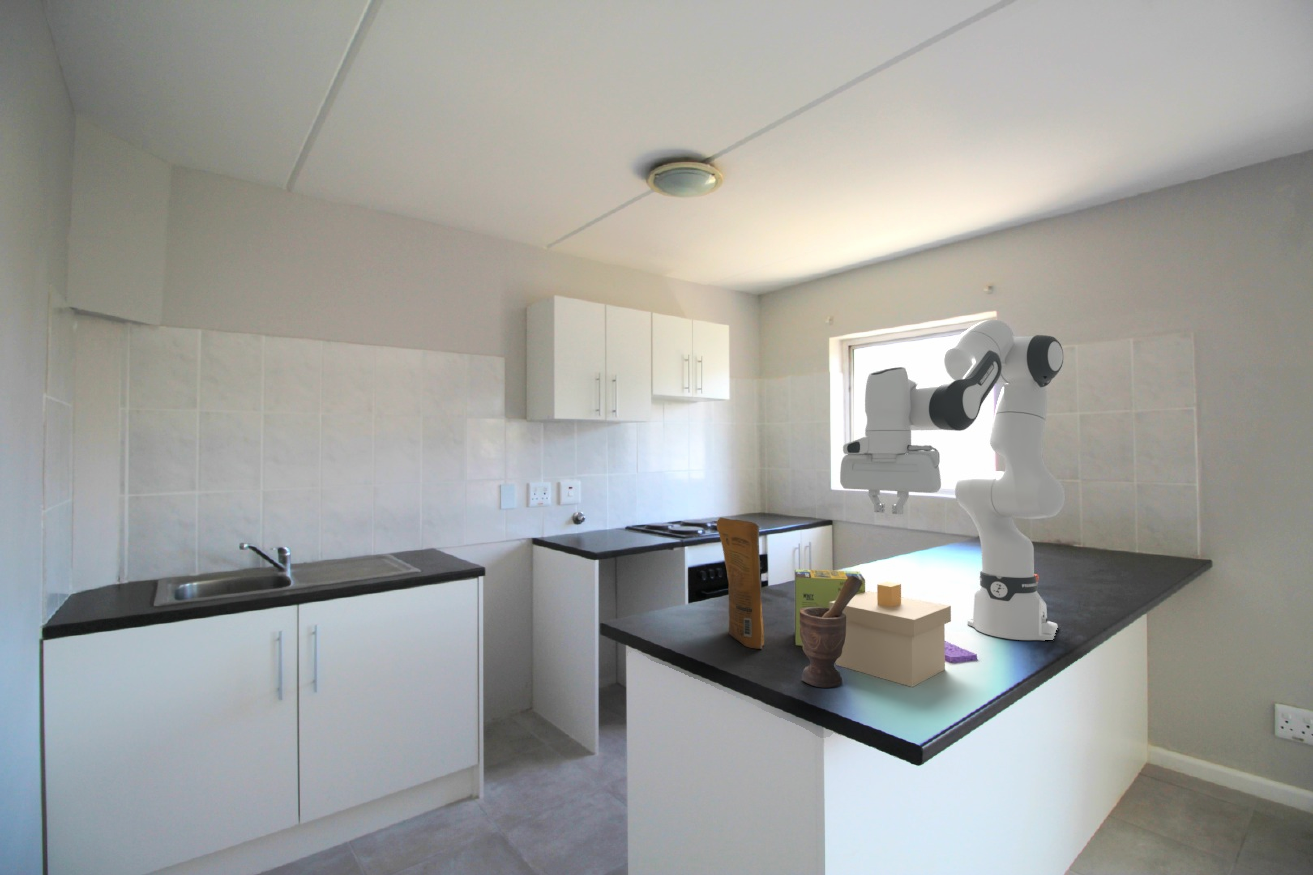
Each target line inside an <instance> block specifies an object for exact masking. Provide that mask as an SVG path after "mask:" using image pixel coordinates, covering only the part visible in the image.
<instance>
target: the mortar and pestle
mask: <svg viewBox="0 0 1313 875" xmlns="http://www.w3.org/2000/svg"><path fill="white" fill-rule="evenodd" d="M861 585H862V581H861V580H860V579H859V578H857V577H855V576H853V575H851V576H850V577H848V578H847V580H846V581H845V583H844V585H843V586H842V588H841V591H840V593H839V595H838V597H837V599H836V600H835V602H834V604H833V606H832V607H831V608H827V607H806V608H801V609H800V637H801V641H802V644H803V646H801V647H802V650H803V653H804V655H806V657H807V658H808V660H809V663H810V664H809V665H808V666H805V668H804V669H803V671H802V673H801V681H803V682H804V683H806V684H808V685H811V686H814V687H817V688H834V687H835V688H836V687H838V686H840V685H841V684H843V678H842V676H841V673H840V671H839V670H837V668H836V667H835V663H836V660H837V659H838V658H839V657H840V656H841V654H842V648H843V645H844V643H845V637H846V614H845V613H844V612H842V611H843V610H844V608H845V607H846V606H847V604H848V603H849V602H850V600H851V599H852V598H853V597H854V596H855V595H856V593H857V592H858V591H859V589H860V587H861Z"/></svg>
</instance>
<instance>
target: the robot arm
mask: <svg viewBox="0 0 1313 875" xmlns="http://www.w3.org/2000/svg"><path fill="white" fill-rule="evenodd" d="M942 360H943V367H944V369H945V370H944V371H945V372H946V373H947V375H948V376H949V377H950V378H951V379H953V380H949V381H944V382H943V381H942V382H935V383H927V384H926V383H924V384H919V383H917V382H915V381H914V380H912V379H911V377H910V376H909V371H908V369H907V367H905V366H900V365H898V366H891V367H885V368H880V369H879V368H878V369H874V370H873V371H871V372H869V374H868V376H867V379H866V383H865V384H866V385H865V394H864V412H865V414H866V426H865V430H864V435H865V436H863V437H860V438H857V439H855V440H852V441H849V442H847V443H845V444H843V445H842V451H843V454H845V455H844V456H843V457H842V460H841V463H840V472H839V474H840V475H839V476H840V477H839V479H840V485H841V486H842V488H843V489H846V490H847V489H848V490H864V491H865V490H866V491H868V497H869V498H870V501H871V502H872V503H873V512H874V513H877V514H879V513H880V514H882V513H883V514H884V513H885V511H886V509H885V507H886V504H885V503H881V500H880V498H879V496H880V495H881V494H880V493H881V491H884V492H885V491H887V492H896V496H897V498H898V501H897V502H896V504H892V506H891V509H892V511H891V512H892V514H894V515H903V514H904V505H905V504H906V502H907V500H908V499H909V496H910V494H909V493H924V494H925V493H926V494H929V493H931V494H933V493H938V492H939V491H940V489H941V488H942V487H941V486H942V482H941V480H942V479H941V471H940V467H939V465H940V462H941V461H940V452H939V450H938V449H937V448H935V447H933V446H932V445H929V444H926V445H925V444H924V445H918V444H915V445H914V444H912V431H939V430H940V431H941V430H943V431H957V432H958V431H959V432H961V431H965V430H966V429H968V428H969V427H970V426H971V425H972V424H974V422H975V421H976V420H977V418H978V416H979V414H980V410H981V408H982V405H983V403H984V401H985V400H986V398H987V397H988V395H989V394H990V393H991V391H992V389H993V388H994V386H996V384H997V385H998V384H999V385H1001V384H1002V388H1001V391H1000V394H999V397H998V400H997V404H996V406H995V411H994V416H993V422H992V428H991V434H990V440H989V443H990V447H991V448H992V450H993V451H994V452H995V453H996V454H997V455H999V456H1001V457H1002V458H1003V460H1004V468H1005V469H1004V471H993V470H992V471H987V470H986V471H985V470H981V471H980V470H979V471H976V472H975V471H974V472H970V473H966V474H963V475H961V476H960V478H959V479H958V480H957V483H956V484H955V488H954V494H955V495H954V496H955V500H956V501H957V503H958V505H959V507H961V508H962V509H963V510H964V511H965V512H966V513H967V514H968V515H969V516H970V518H971V521H973V524H974V526H975V528H976V530H977V533H978V536H979V537H978V538H979V542H980V548H981V549H980V551H981V552H980V553H981V571H979V585H980V588H979V590H977V591H976V592H974V597H973V613H972V618H971V619H968V620H967V622H966V623H967V625H969V626H970V627H973V628H974V629H975V630H976V631H978V632H980V633H982V634H985V635H988V636H992V637H995V638H996V637H997V638H1002V639H1007V640H1015V641H1016V640H1017V641H1018V640H1019V641H1045V640H1053V639H1055V637H1054V636H1056V634H1055V633H1057V632H1056V630H1057V631H1058V629H1057V628H1059V626H1058V623H1056V622H1052V621H1050V620H1048V613H1047V612H1048V610H1047V608H1048V607H1047V603H1046V602H1045V601H1044V599H1043V598H1042V597H1041V596H1040V594H1039V593H1038V590H1039V588H1038V583H1039V579H1040V577H1039V574H1035V552H1034V550H1035V547H1034V544H1033V542H1032V540H1031V539H1030V538H1029V537H1028V536H1026V535H1025V534H1023V533H1022V532H1021V531H1020V530H1019V529H1018V528H1017V526H1016V524H1015V522H1014V519H1013V518H1016V519H1017V518H1019V519H1026V520H1027V519H1028V520H1037V519H1046V518H1053V517H1055V516H1056V515H1058V514H1059V512H1061V511H1062V508H1063V507H1064V504H1065V499H1066V494H1065V493H1066V492H1065V489H1064V487H1063V485H1062V484H1061V482H1060V481H1059V480H1058V479H1057V478H1056V477H1055V476H1054V475H1052V474H1053V473H1051V472H1050V471H1049V469H1048V468H1047V466H1046V463H1045V461H1044V457H1043V443H1044V441H1043V440H1044V434H1045V432H1044V431H1045V426H1046V419H1047V409H1048V394H1047V393H1048V392H1047V386H1048V385H1049V384H1050V383H1051V382H1052V380H1053V379H1054V378H1055V377H1056V376H1057V375H1058V373H1059V372H1060V371H1061V369H1062V367H1063V364H1064V350H1063V347H1062V345H1061V343H1060V341H1059V340H1058V339H1057V338H1056V337H1054V336H1052V335H1044V334H1037V335H1036V334H1035V335H1034V336H1029V335H1028V336H1015V334H1014V332H1013V330H1012V328H1011V327H1010V326H1009V324H1007V323H1005V322H1004V321H1001V320H998V319H986V320H984V321H980V322H978V323H977V324H974V325H973V326H971V327H970V328H967V330H965V331H964V332H962V333H961V334H960V335H958V336H957V337H956V338H955V339H954V340H952V341H951V342H950V344H949V345H948V346H947V347H946V349H945V351H944V353H943V356H942ZM1053 641H1054V640H1053Z"/></svg>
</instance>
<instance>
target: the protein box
mask: <svg viewBox="0 0 1313 875" xmlns="http://www.w3.org/2000/svg"><path fill="white" fill-rule="evenodd" d="M851 575H853V576H855V577H857V578H859V579H860V580H861V581H862V585H861V587H860V589H859V591H858V592H857V593H856V595H857V594H860V593H864V592H866V579H865V578H864V576H863V574H862V573H861V572H860V571H856V570H855V571H854V570H831V569H830V570H829V569H828V570H825V569H794V643H795V646H801V647H803V644H802V641H801V637H800V609H801V608H806V607H827V608H829V602H832V601H835V600H836V599H837V597H838V595H839V593H840V591H841V588H842V586H843V585H844V583H845V581H846V580H847V578H848V577H850V576H851Z"/></svg>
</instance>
